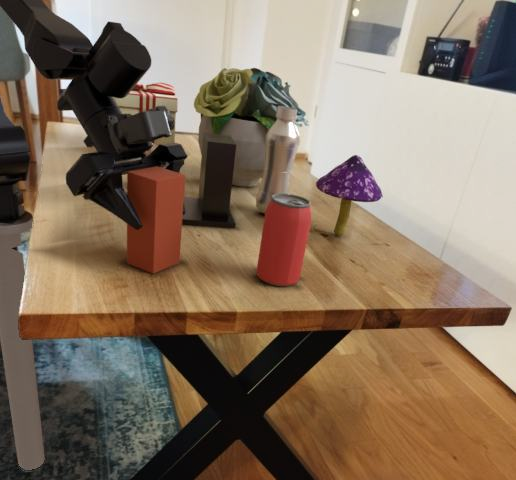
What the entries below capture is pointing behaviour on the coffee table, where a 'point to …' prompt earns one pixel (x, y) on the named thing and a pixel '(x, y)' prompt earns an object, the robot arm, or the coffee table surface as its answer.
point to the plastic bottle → (278, 156)
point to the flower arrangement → (244, 115)
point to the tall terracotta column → (155, 218)
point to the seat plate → (213, 184)
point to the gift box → (150, 103)
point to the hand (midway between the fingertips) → (162, 221)
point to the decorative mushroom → (349, 187)
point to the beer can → (284, 239)
